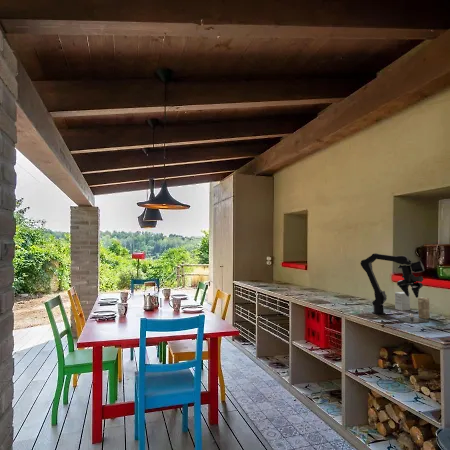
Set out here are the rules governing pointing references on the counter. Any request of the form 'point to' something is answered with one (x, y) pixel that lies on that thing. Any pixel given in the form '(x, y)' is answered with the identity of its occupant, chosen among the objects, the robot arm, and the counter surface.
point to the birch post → (423, 308)
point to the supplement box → (402, 301)
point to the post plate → (416, 320)
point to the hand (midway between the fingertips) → (412, 296)
